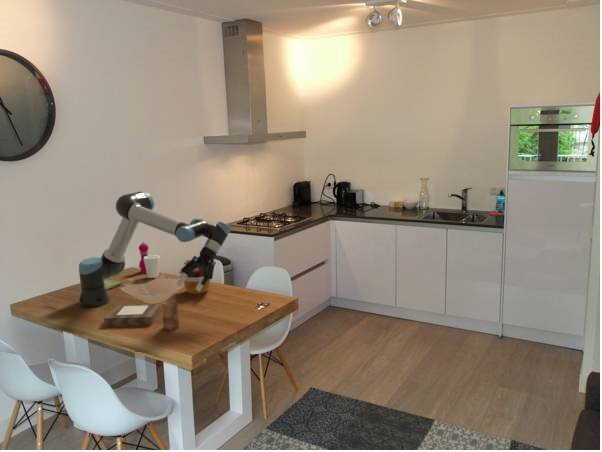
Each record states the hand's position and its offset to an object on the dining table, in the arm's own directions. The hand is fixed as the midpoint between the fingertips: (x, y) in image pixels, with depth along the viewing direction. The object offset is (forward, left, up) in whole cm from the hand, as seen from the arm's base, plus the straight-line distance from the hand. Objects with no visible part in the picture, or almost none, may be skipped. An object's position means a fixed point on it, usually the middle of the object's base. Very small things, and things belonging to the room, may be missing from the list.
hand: (187, 288), depth 249 cm
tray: (-28, +5, -16) cm, 33 cm away
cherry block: (-7, -8, -16) cm, 19 cm away
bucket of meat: (-3, +45, -16) cm, 48 cm away
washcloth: (-61, +61, -17) cm, 88 cm away
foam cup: (-36, +76, -16) cm, 86 cm away
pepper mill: (-44, +89, -16) cm, 101 cm away
